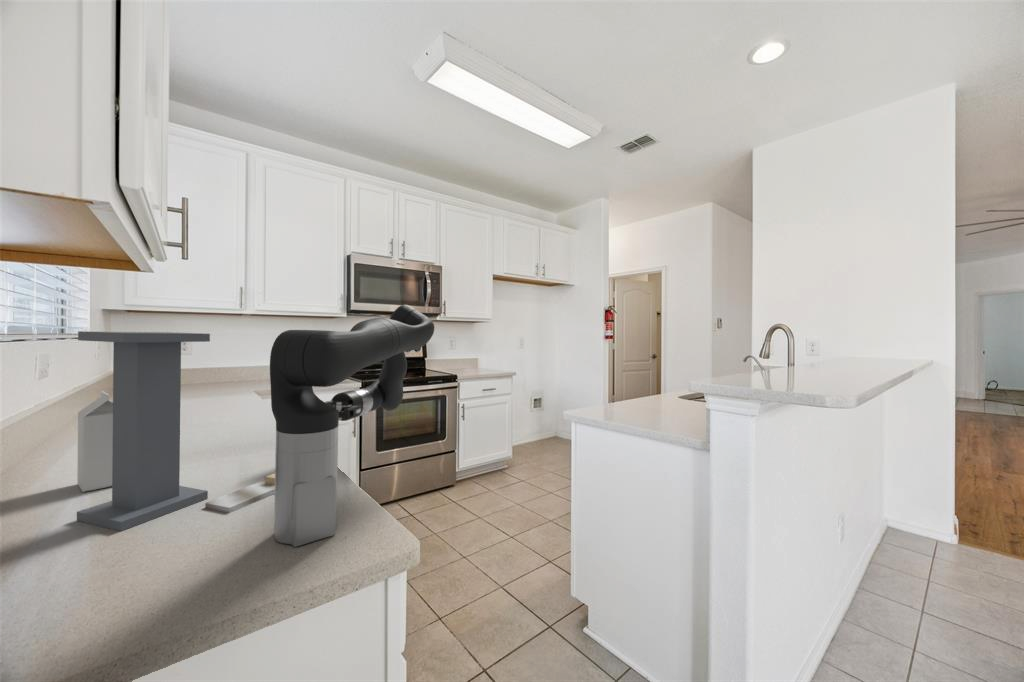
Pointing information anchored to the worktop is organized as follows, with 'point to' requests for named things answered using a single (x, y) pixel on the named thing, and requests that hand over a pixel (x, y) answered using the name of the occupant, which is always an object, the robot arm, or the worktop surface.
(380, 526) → the worktop surface
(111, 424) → the milk carton
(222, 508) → the trowel
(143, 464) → the stand
